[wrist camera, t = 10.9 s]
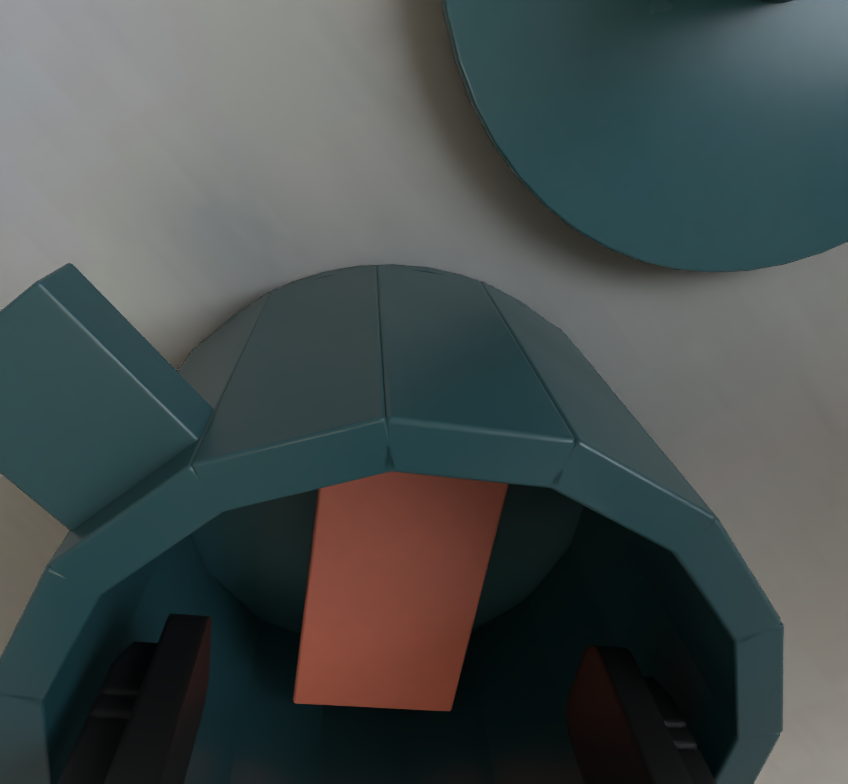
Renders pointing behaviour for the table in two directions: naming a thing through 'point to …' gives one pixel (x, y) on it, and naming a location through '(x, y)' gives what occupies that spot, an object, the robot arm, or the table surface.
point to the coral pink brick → (394, 589)
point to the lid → (670, 120)
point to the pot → (294, 520)
